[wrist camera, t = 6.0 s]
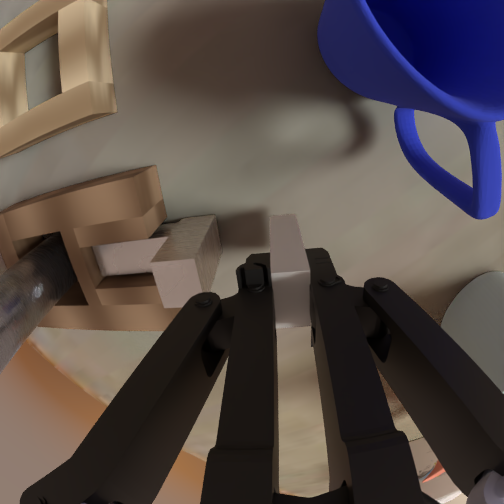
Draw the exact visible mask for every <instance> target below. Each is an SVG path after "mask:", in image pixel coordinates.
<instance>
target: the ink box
mask: <svg viewBox="0 0 504 504" xmlns="http://www.w3.org/2000/svg"><path fill="white" fill-rule="evenodd" d="M409 445H410V448H411V452H412V455H413V459H414V463H415V467H416V471H417V475H418V479H419V483H420V487H421V491H422V492H424V493H426V494H427V495H429V496H430V497H432V498H433V499H435V500H436V501H438V502H439V503H441V504H444V503H446V502H448V501H450V500H452V499H454V498H455V497H457V496H458V495H459V494H461V493H462V492H461V491H460V490H459V488H458V487H457V486H456V485H455V484H454V483H453V482H452V480H451V479H450V477H449V476H448V474H447V473H446V471H445V472H444V473H442V474H440V475H439V476H437V477H435V478H433V479H431V480H429V481H427V482H424V483H422V481H423V480H424V479H425V478H426V477H427V476H428V475H429V474H430V472H431V471H432V470H433V469H434V467H435V465H436V463H437V461H438V459H437V457H436V455H435V454H434V452H433V451H432V449H431V448H430V446H429V444H428V443H427V441H426V440H425V438H424V437H423V438H420V439H417V440H414V441H411V442H409Z"/></svg>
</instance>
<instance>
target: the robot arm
mask: <svg viewBox="0 0 504 504" xmlns="http://www.w3.org/2000/svg"><path fill="white" fill-rule="evenodd" d="M236 275H237V281H238V288H239V290H238V293H237V294H236V295H234V296H231V297H228V298H225V299H221V300H220V297H219V295H217V294H216V293H212V292H202V293H198V294H196V295H194V296H192V297H191V298H190V299H189V300H188V301H187V302H186V303H185V305H184V306H183V307H182V309H181V310H180V311H179V312H178V314H177V315H176V316H175V318H174V319H173V320H172V322H171V323H170V324H169V326H168V327H167V328H166V329H165V331H164V332H163V333H162V335H161V336H160V337H159V339H158V340H157V341H156V343H155V344H154V345H153V347H152V348H151V349H150V350H149V352H148V353H147V354H146V356H145V357H144V358H143V360H142V361H141V362H140V364H139V365H138V366H137V368H136V369H135V370H134V372H133V373H132V374H131V376H130V377H129V378H128V380H127V381H126V382H125V384H124V385H123V387H122V388H121V389H120V391H119V392H118V393H117V395H116V396H115V397H114V399H113V400H112V401H111V403H110V404H109V406H108V407H107V408H106V410H105V411H104V412H103V414H102V415H101V416H100V418H99V419H98V421H97V422H96V423H95V425H94V426H93V428H92V429H91V430H90V432H89V433H88V435H87V436H86V437H85V439H84V440H83V441H82V443H81V444H80V446H79V447H78V448H77V450H76V451H75V453H74V454H73V456H72V457H71V458H70V459H69V460H67V461H66V462H64V463H63V464H62V465H60V466H59V467H57V468H56V469H55V470H53V471H52V472H50V473H49V474H47V475H46V476H45V477H44V478H42V479H40V480H39V481H37V482H36V483H35V484H33V485H31V486H30V487H29V488H27V489H26V490H25V491H24V492H23V494H22V496H21V498H20V504H152V502H153V501H154V499H155V498H156V496H157V494H158V492H159V490H160V489H161V487H162V485H163V483H164V481H165V479H166V477H167V476H168V474H169V472H170V470H171V468H172V466H173V464H174V462H175V460H176V459H177V457H178V455H179V453H180V451H181V449H182V447H183V445H184V443H185V441H186V439H187V437H188V435H189V433H190V432H191V430H192V428H193V426H194V424H195V422H196V420H197V418H198V416H199V414H200V412H201V410H202V408H203V406H204V404H205V402H206V400H207V398H208V396H209V394H210V392H211V390H212V388H213V386H214V384H215V382H216V380H217V378H218V376H219V374H220V372H221V370H222V368H223V366H224V364H225V362H226V360H227V358H228V364H227V371H226V378H225V385H224V392H223V399H222V405H221V412H220V420H219V427H218V434H217V441H216V445H215V447H213V448H211V449H210V451H209V453H208V457H207V462H206V469H205V475H204V482H203V488H202V495H201V502H200V504H441V503H439V502H438V501H436V500H435V499H433V498H432V497H430V496H429V495H427V494H426V493H424V492H422V491H421V487H420V483H419V479H418V475H417V471H416V467H415V463H414V459H413V455H412V452H411V448H410V445H409V441H408V439H407V436H406V435H405V433H404V432H403V431H398V430H397V429H396V428H395V426H394V423H393V419H392V416H391V412H390V409H389V406H388V402H387V399H386V396H385V393H384V389H383V386H382V383H381V380H380V377H379V374H378V371H377V368H378V369H379V371H380V372H381V374H382V375H383V377H384V378H385V379H386V381H387V382H388V384H389V385H390V387H391V388H392V390H393V391H394V393H395V394H396V396H397V397H398V399H399V400H400V402H401V403H402V405H403V406H404V408H405V409H406V411H407V412H408V414H409V415H410V417H411V418H412V420H413V421H414V423H415V424H416V426H417V427H418V429H419V430H420V432H421V434H422V435H423V437H424V438H425V440H426V441H427V443H428V444H429V446H430V448H431V449H432V451H433V452H434V454H435V455H436V457H437V459H438V460H439V462H440V463H441V465H442V467H443V468H444V470H445V471H446V473H447V474H448V476H449V477H450V479H451V480H452V482H453V483H454V484H455V485H456V486H457V487H458V488H459V490H460V491H461V492H462V493H464V494H465V495H466V496H467V497H468V498H467V503H466V504H504V394H503V393H502V392H501V391H500V389H499V388H498V387H497V386H496V385H495V384H494V383H493V381H492V380H491V379H490V378H489V377H488V376H487V375H486V374H485V373H484V371H483V370H482V369H481V368H480V367H479V366H478V365H477V364H476V363H475V362H474V361H473V360H472V359H471V357H470V356H469V355H468V354H467V353H466V352H465V351H464V350H463V349H462V348H461V347H460V346H459V345H458V344H457V343H456V342H455V341H454V340H453V339H452V338H451V337H450V336H449V335H448V334H447V333H446V332H445V331H444V330H443V329H442V328H441V327H440V326H439V325H438V324H437V323H436V322H435V321H434V320H433V319H432V318H431V317H430V316H429V315H428V314H427V313H426V312H425V311H424V310H423V309H422V308H421V307H420V306H419V305H418V304H416V303H415V302H414V301H413V300H412V299H411V298H410V297H409V296H408V295H407V294H406V293H405V292H404V291H403V290H401V289H400V288H399V287H398V286H397V285H396V284H395V283H394V282H392V281H391V280H389V279H386V278H380V277H377V278H371V279H369V280H367V281H366V282H365V283H364V288H363V287H354V286H349V285H346V284H345V281H344V280H343V278H342V277H340V276H339V275H337V273H336V271H335V268H334V266H333V263H332V261H331V258H330V256H329V253H328V252H327V251H326V250H325V249H323V248H312V249H305V248H304V244H303V240H302V236H301V232H300V229H299V225H298V221H297V218H296V214H286V215H274V216H270V253H259V254H251V255H250V256H249V257H248V258H247V259H246V263H245V264H242V265H240V266H239V267H238V268H237V270H236ZM303 326H311V347H314V354H315V361H316V367H317V374H318V381H319V388H320V396H321V403H322V411H323V419H324V427H325V436H326V445H327V454H328V463H329V474H330V482H329V492H327V493H324V494H321V495H318V496H315V497H311V498H306V497H298V496H292V495H285V494H280V493H279V430H278V372H277V336H276V328H290V327H303ZM228 356H229V357H228ZM376 366H377V368H376Z"/></svg>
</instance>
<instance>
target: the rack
mask: <svg viewBox="0 0 504 504" xmlns="http://www.w3.org/2000/svg"><path fill="white" fill-rule="evenodd" d="M56 33H58V44H59V63H60V76H61V86H62V93H61V94H59V95H57V96H55V97H53V98H51V99H49V100H47V101H45V102H43V103H41V104H40V105H38V106H36V107H34V108H32V109H31V110H29V111H28V102H27V92H26V79H25V55H24V53H26V52H27V51H29V50H30V49H32V48H33V47H35V46H36V45H38V44H39V43H41V42H43V41H44V40H46V39H48V38H49V37H51V36H53V35H54V34H56ZM116 112H117V105H116V98H115V91H114V83H113V75H112V66H111V57H110V45H109V32H108V15H107V0H39V1H38V2H37V3H35V4H34V5H32V6H31V7H29V8H28V9H26V10H25V11H24V12H22V13H21V14H20V15H18V16H17V17H16V18H14V19H13V20H12V21H10V22H9V23H8V24H7V25H5V26H4V27H3V28H2V29H1V30H0V158H3V157H6V156H9V155H12V154H15V153H18V152H20V151H22V150H24V149H26V148H28V147H30V146H33V145H35V144H37V143H39V142H41V141H43V140H46V139H48V138H50V137H52V136H55V135H57V134H59V133H62V132H64V131H67V130H69V129H72V128H74V127H77V126H79V125H82V124H85V123H87V122H90V121H93V120H96V119H98V118H101V117H104V116H107V115H110V114H113V113H116Z"/></svg>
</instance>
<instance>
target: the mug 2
mask: <svg viewBox="0 0 504 504" xmlns="http://www.w3.org/2000/svg"><path fill="white" fill-rule="evenodd" d="M441 328H442V329H443V330H444V331H445V332H446V333H447V334H448V335H449V336H450V337H451V338H452V339H453V340H454V341H455V342H456V343H457V344H458V345H459V346H460V347H461V348H462V349H463V350H464V351H465V352H466V353H467V354H468V355H469V356H470V357H471V359H472V360H473V361H474V362H475V363H476V364H477V365H478V366H479V367H480V368H481V369H482V370H483V371H484V373H485V374H486V375H487V376H488V377H489V378H490V379H491V380H492V381H493V383H494V384H495V385H496V386H497V387H498V388H499V389H500V391H501V392H502V393H503V394H504V273H503V272H499V271H491V272H487V273H484V274H482V275H480V276H478V277H477V278H475V279H474V280H472V281H471V282H470V283H468V284H467V285H466V286H465V287H464V288H463V289H462V290H461V291H460V292H459V293H458V294H457V296H456V297H455V298H454V300H453V301H452V302H451V304H450V305H449V307H448V309H447V311H446V313H445V315H444V317H443V320H442V323H441Z"/></svg>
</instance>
